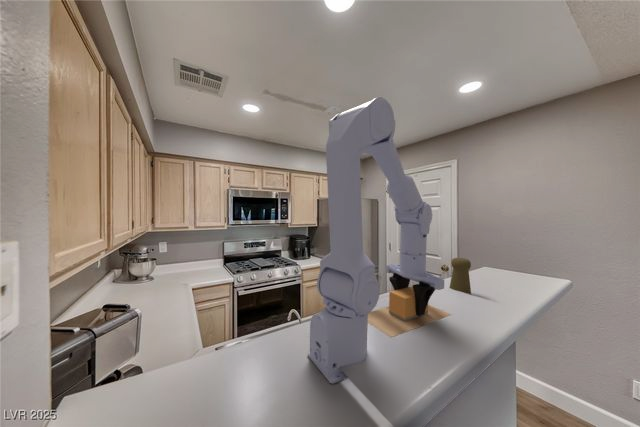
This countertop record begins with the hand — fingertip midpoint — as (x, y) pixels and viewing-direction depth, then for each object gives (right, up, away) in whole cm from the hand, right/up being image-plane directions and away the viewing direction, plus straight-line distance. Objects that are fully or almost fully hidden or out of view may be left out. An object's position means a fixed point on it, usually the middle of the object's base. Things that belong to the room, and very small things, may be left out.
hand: (411, 310), depth 54 cm
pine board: (-2, -2, -1) cm, 3 cm away
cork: (+22, -2, +18) cm, 28 cm away
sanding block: (-1, -1, 0) cm, 1 cm away
